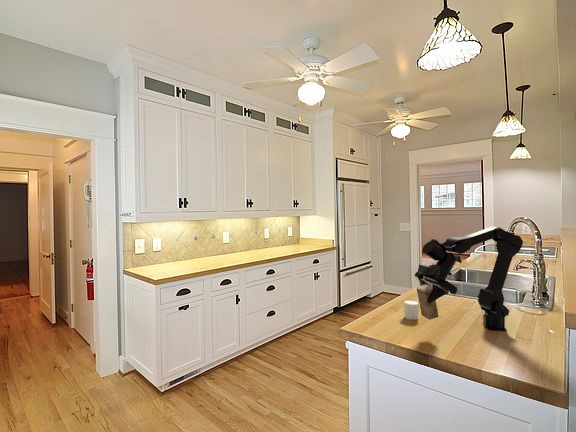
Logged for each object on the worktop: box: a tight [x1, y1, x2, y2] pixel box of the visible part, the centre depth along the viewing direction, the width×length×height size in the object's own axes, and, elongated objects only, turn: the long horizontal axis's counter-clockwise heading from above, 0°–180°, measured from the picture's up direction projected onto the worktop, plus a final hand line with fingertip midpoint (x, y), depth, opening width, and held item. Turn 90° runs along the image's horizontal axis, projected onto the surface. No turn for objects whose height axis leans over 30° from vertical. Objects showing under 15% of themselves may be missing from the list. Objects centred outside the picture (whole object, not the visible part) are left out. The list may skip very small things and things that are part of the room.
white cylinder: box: [402, 299, 420, 321], centre depth 139 cm, size 7×7×7 cm
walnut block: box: [415, 284, 439, 321], centre depth 119 cm, size 4×5×12 cm
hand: (423, 300), depth 119 cm, fingers closed on walnut block, 5 cm apart
